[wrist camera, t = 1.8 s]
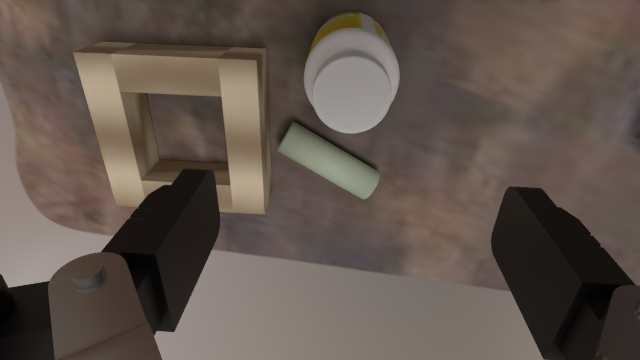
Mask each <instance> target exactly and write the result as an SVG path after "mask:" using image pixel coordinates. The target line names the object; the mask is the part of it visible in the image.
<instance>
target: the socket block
mask: <svg viewBox="0 0 640 360" xmlns="http://www.w3.org/2000/svg"><path fill="white" fill-rule="evenodd" d="M73 54H74V57H75V61H76V64H77V68H78V71H79V75H80V78H81V82H82V85H83V89H84V92H85V96H86V99H87V103H88V107H89V110H90V114H91V117H92V121H93V124H94V128H95V131H96V135H97V138H98V142H99V145H100V149H101V152H102V156H103V159H104V163H105V166H106V170H107V174H108V177H109V181H110V184H111V188H112V191H113V195H114V198H115V202H116V205H117V206H132V207H139V205H140V204H141V203H142V201H143V200H144V199H145V198H146V197H147V195H148V194H150V193H151V192H153V191H155V190H156V189H158V188H160V187H161V186H163V185H171V184H172V183H173V182H174V180H175V179H176V178H177V176H178V175H179V174H180V172H181V171H182V170H183V169H184V168H190V169H208V170H212V171H213V172H214V175H215V180H216V188H217V196H218V204H219V212H233V213H250V214H265V212H266V208H267V205H268V202H269V199H270V196H271V193H272V178H271V153H270V128H269V103H268V78H267V54H266V49H265V48H241V47H218V46H194V45H171V44H147V43H123V42H100V43H97V44H94V45H92V46H89V47H86V48H83V49H81V50H78V51H75V52H73ZM146 93H158V94H179V95H200V96H221V97H222V106H223V116H224V125H225V135H226V145H227V155H228V163H212V162H193V161H175V160H160V159H159V154H158V149H157V144H156V139H155V134H154V129H153V125H152V120H151V115H150V110H149V105H148V100H147V95H146Z"/></svg>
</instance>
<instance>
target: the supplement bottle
mask: <svg viewBox="0 0 640 360" xmlns="http://www.w3.org/2000/svg"><path fill="white" fill-rule="evenodd" d="M399 79H400V73H399V65H398V61H397V58H396V56H395V53H394V51H393V49H392V47H391V44H390V42H389V40H388V38H387V35H386V33H385V32H384V30H383V28H382V27H381V26H380V24H379V23H378V22H377V21H376V20H374V19H373V18H372V17H370V16H368V15H366V14H363V13H360V12H343V13H340V14H337V15H335V16H333V17H331V18H330V19H328V20H327V21H326V22H325V23H324V24H323V25H322V26H321V27H320V29H319V30H318V32H317V34H316V36H315V38H314V41H313V43H312V46H311V49H310V52H309V55H308V58H307V61H306V65H305V70H304V86H305V91H306V94H307V97H308V99H309V101H310V102H311V104H312V105H313V107H314V109H315V111H316V113H317V115H318V116H319V118H320V119H321V120H322V121H323V122H324V123H325V124H326V125H327V126H329V127H330V128H332V129H334V130H336V131H339V132H342V133H360V132H364V131H366V130H369V129H371V128H373V127H374V126H375V125H377V124H378V123H379V122H380V121H381V120H382V119H383V118H384V116H385V115H386V113H387V111H388V109H389V107H390V104H391V103H392V101H393V99H394V97H395V95H396V93H397V90H398V86H399Z"/></svg>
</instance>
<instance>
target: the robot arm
mask: <svg viewBox="0 0 640 360" xmlns="http://www.w3.org/2000/svg"><path fill="white" fill-rule="evenodd" d="M219 228H220V212H219V204H218V196H217V188H216V180H215V175H214V172H213V171H212V170H208V169H190V168H184V169H183V170H182V171H181V172H180V174H179V175H178V176H177V178H176V179H175V180H174V182H173V183H172V184H171V185H163V186H161V187H160V188H158V189H156V190H155V191H153V192H151V193H150V194H148V195H147V197H146V198H145V199H144V200H143V201H142V203H141V204H140V205H139V208H138V209H136V210H135V211H134V212H133V214H132V215H131V218H130V219H128V220H127V221H126V222H125V223H124V225H123V226H122V227H121V228H120V229H119V231H118V232H117V233H116V234H115V236H114V237H113V238H112V239H111V241H110V242H109V243H108V244H107V245H106V246H105V248H104V249H103V250H102V251H101V252H99V253H93V254H88V255H85V256H82V257H79V258H77V259H74V260H72V261H70V262H69V263H67V264H65V265H64V266H63V267H61V268H60V269H59V270H58V271H57V272H56V273H55V274H54V275H53V276H52V278H51V279H50V281H47V282H42V283H35V284H29V285H23V286H18V287H11V288H8V286H7V284H6V282H5V280H4V279H3V276H2V275H1V274H0V360H162V358H161V355H160V352H159V349H158V346H157V344H156V341H155V338H154V335H155V333H156V331H167V332H174V331H175V329H176V327H177V324H178V323H179V320H180V318H181V316H182V314H183V312H184V309H185V307H186V305H187V303H188V301H189V298H190V296H191V294H192V292H193V289H194V287H195V285H196V283H197V281H198V279H199V276H200V274H201V272H202V270H203V268H204V265H205V263H206V261H207V259H208V257H209V255H210V252H211V250H212V248H213V246H214V244H215V241H216V239H217V237H218V233H219ZM590 234H591V233H590V232H589V231H588V230H587V228H586V227H585V226H584V225H583V224H582V223H581V221H580V220H579V219H577V218H576V217H574V216H573V215H571V214H570V213H568V212H567V211H565V210H564V209H562V208H561V207H557V206H556V205H555V204H554V203H553V201H552V200H551V199H550V198H549V197H548V195H547V194H546V193H545V192H544V191H543V190H542V189H541V188H530V187H509V188H508V189H507V190H506V192H505V194H504V197H503V200H502V203H501V206H500V210H499V213H498V216H497V219H496V222H495V226H494V229H493V232H492V237H491V247H492V252H493V255H494V257H495V260H496V262H497V264H498V266H499V268H500V270H501V272H502V274H503V276H504V278H505V280H506V282H507V284H508V286H509V289H510V291H511V293H512V295H513V297H514V299H515V301H516V303H517V305H518V307H519V309H520V311H521V313H522V315H523V317H524V320H525V322H526V324H527V326H528V328H529V330H530V332H531V334H532V336H533V338H534V340H535V342H536V344H537V346H538V349H539V351H540V353H541V355H542V357H543V359H546V360H640V286H636V285H635V284H634V283H633V281H632V280H631V279H630V278H629V277H628V276H627V275H626V273H625V272H624V271H623V270H622V269H621V268H620V266H619V265H618V264H617V263H616V262H615V261H614V260H613V258H612V257H611V256H610V255H609V254H608V253H607V251H606V250H605V249H604V248H601V247H600V243H599V242H598V241H597V240H596V239H595V238H594V236H591V235H590Z"/></svg>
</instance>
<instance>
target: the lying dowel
mask: <svg viewBox="0 0 640 360" xmlns="http://www.w3.org/2000/svg"><path fill="white" fill-rule="evenodd" d="M277 151H278V152H280V153H282V154H284V155H285V156H287V157H289V158H291V159H292V160H294V161H296V162H298V163H299V164H301V165H303V166H305V167H307V168H308V169H310V170H312V171H314V172H315V173H317V174H319V175H321V176H322V177H324V178H326V179H328V180H329V181H331V182H333V183H335V184H337V185H338V186H340V187H342V188H344V189H345V190H347V191H349V192H351V193H352V194H354V195H356V196H358V197H359V198H361V199H363V200H364V199H366V198H368V197H369V196H370V195H371V194H372V192H373V191H374V190H375V188H376V186H377V184H378V182H379V178H380V173H379V172H378V171H377V170H375V169H373V168H372V167H370V166H368V165H367V164H365V163H363V162H361V161H360V160H358V159H356V158H355V157H353V156H351V155H350V154H348V153H346V152H345V151H343V150H341V149H340V148H338V147H336V146H334V145H333V144H331V143H329V142H328V141H326V140H324V139H323V138H321V137H319V136H318V135H316V134H314V133H312V132H311V131H309V130H307V129H306V128H304V127H302V126H301V125H299V124H297V123H296V122H294V121H293V122H292V123H291V125H290V126H289V128H288V130H287V131H286V133H285V134H284V136H283V138H282V140H281V142H280V143H279V146H278V148H277Z"/></svg>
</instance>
